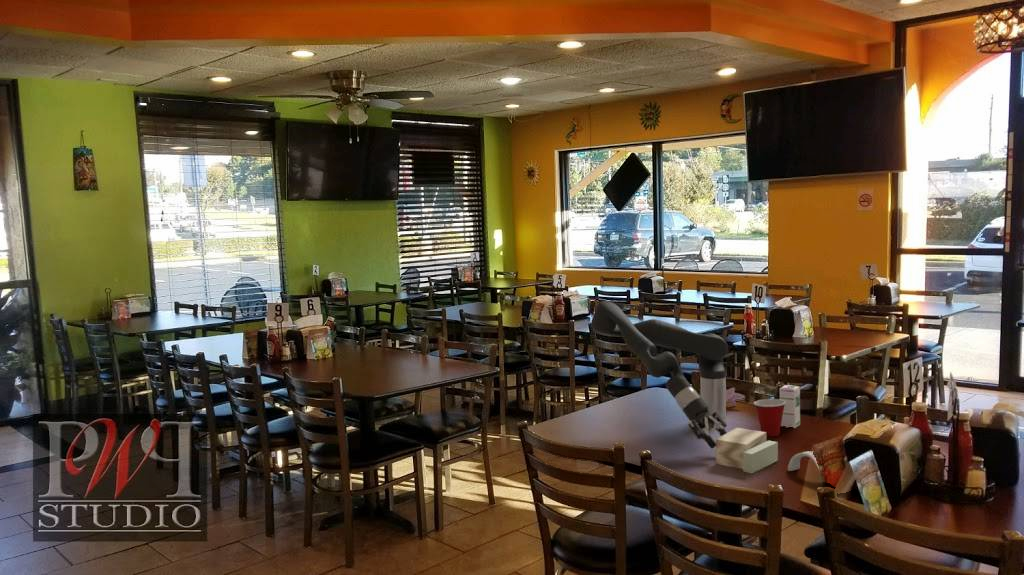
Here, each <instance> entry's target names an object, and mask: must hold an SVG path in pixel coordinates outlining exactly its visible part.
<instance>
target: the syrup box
mask: <svg viewBox="0 0 1024 575" xmlns="http://www.w3.org/2000/svg"><path fill="white" fill-rule="evenodd" d="M800 388H801V387H800V386H797V385H790V384H784V385H783V386H782V387H780V388H779V399H780V400H784V401H786V403H785V405H784V411H783V416H782V422H781V427H783V426H785V427H784V428H789V427H793V428H792V429H796V428H797V427H799V426H801V389H800Z"/></svg>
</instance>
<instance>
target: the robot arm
mask: <svg viewBox="0 0 1024 575" xmlns="http://www.w3.org/2000/svg"><path fill="white" fill-rule="evenodd" d="M590 326H591V328H592V329H593V330H595V331H597V332H598V333H601V334H604V335H610V336H617V337H622V339H623V341H624V344H625V345H626V346H627V348H628V349H629V350H630V352H632V353H633V354H634V355H636V357H637V358H639V360H640V361H641V363H642V364H643V366H644V368H645V369H646V371H647V372H648V374H649V375H650V376H651V377H653V378H656V379H657V378H658V379H659V378H662V377H663V376H665V375H667V374H669V373H670V375H671V377H669V379H668V380H667V381H666V383H665V387H666V389H667V390H668V392H669V393H670V394H671V396H672V397H673V398H674V401H675V402H676V404H677V405H678V407H679V408H680V410H682V412H683V413H684V414H685V416H686V418H687V420H689V421H690V422H689V423H688V426H689V427H690V429H691V431H692V433H693V434H694V435H695V437H696V438H697V439H698V440H700V439H702V440H704V441H705V442H706V444H707V445H708V446H709V448H710V449H714V448H716V440H714V439H713V437H712V436H711V435H710V433H709V430H711V431H715V432H717V433H718V434H719V436H720V437H721V436H723V435H725V434H726V433H728V432H727V431H726V428H727V423H726V422H727V402H726V389H727V386H726V385H727V384H726V382H727V381H726V379H727V377H726V376H727V375H726V373H727V372H726V369H725V366H724V359H725V357H726V356H727V355H728V354H729V345H728V343H727V341H726V340H725V339H724V338H723V337H722V336H719V335H717V334H716V333H712V332H711V333H710V332H709V333H706V334H701V333H696V332H692V331H691V330H688V329H686V328H683V327H681V326H678V325H677V324H674V323H670V322H667V321H663V320H659V319H647V320H643V321H639V322H637V323H636V322H635V323H633V322H632V321H631V320H630V318H629V317H628V316H627V315H626V314H625V313H624V311H623V310H622V309H621V308H620V307H619V306H618V305H617V304H615V303H614V302H612V301H609V300H602V301H599V302H598V303H597V304H596V307H595V310H594V312H593V316H592V318H591V322H590ZM657 346H658V347H662V348H667V349H673V350H677V351H683V352H684V351H685V352H689V353H692V354H695V355H697V356H698V368H699V372H700V374H699V377H700V394H699V393H698V392H697V390H695V388H694V387H693V386H692V385H691V384H690V382H689V381H688V380H687V378H686V377H685V375H684V372H683V370H682V368H681V366H680V364H679V361H678V358H677V357H676V355H675V354H674V353H672V352H670V351H663V352H661V353H659V354H657V350H658V349H657ZM656 354H657V355H656Z"/></svg>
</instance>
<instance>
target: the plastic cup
mask: <svg viewBox="0 0 1024 575" xmlns="http://www.w3.org/2000/svg"><path fill="white" fill-rule="evenodd" d="M785 403H786V401H784V400H780V398H777V399H776V398H767V399H758V400H756V401H754V402H753V404H754V406H755V408H756V412H757V416H758V421H759V426H760V431H761V432H766V437H770V436H771V437H772V438H774V437H773V436H775V437H778V436H779V435H780V432H781V427H782V426H781V422H782V416H783V411H784V405H785Z"/></svg>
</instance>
